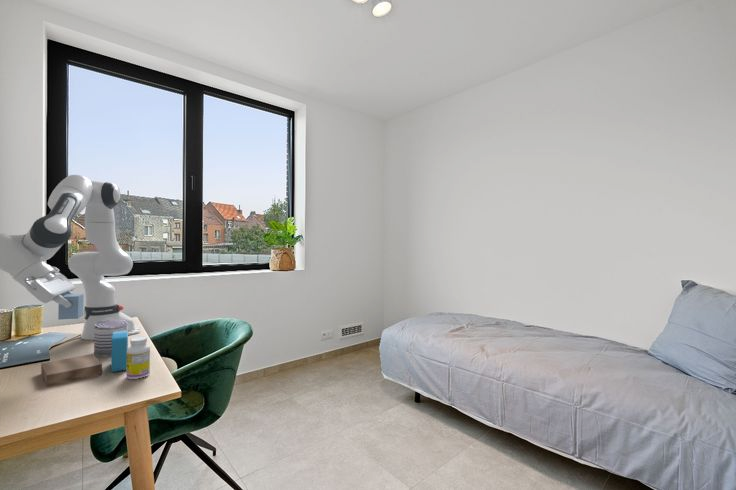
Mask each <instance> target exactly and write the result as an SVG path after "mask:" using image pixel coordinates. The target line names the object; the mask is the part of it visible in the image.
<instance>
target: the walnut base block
mask: <svg viewBox="0 0 736 490" xmlns="http://www.w3.org/2000/svg"><path fill="white" fill-rule="evenodd" d="M40 366H41V367H40V369H41V370H40V371H41V372H40V375H41V377H42V379H43V382H44V384H45V385H46V387H51V386H52V387H53V386H55V385H60V384H64V383H69V382H74V381H78V380H83V379H88V378H91V377H92V378H93V377H97V376H101V375H103V363H102V362H101V361H100V360H99V359H98V358H97V357H96V355H94V353H91V354H86V355H81V356H75V357H69V358H65V359H59V360H53V361H48V362H44V363H41V365H40Z"/></svg>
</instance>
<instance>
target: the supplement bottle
mask: <svg viewBox="0 0 736 490" xmlns="http://www.w3.org/2000/svg"><path fill="white" fill-rule="evenodd" d="M147 341H148V338H147V337H146V336H138V337H132V338H131V339H130V346H128V349H127V370H125V371H126V373H125V374H126V378H127V379H128V380H132V379H135V380H138V379H137V378H141V379H143V378H142V377H144V376H146V375H148V374H149V375H150V373H151V372H150V371H151V366H150V365H151V360H150V359H151V347H150V345H149V344H147ZM149 375H148V376H149ZM146 377H147V376H146ZM144 378H145V377H144Z"/></svg>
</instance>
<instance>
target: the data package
mask: <svg viewBox="0 0 736 490" xmlns="http://www.w3.org/2000/svg"><path fill="white" fill-rule="evenodd" d="M128 348H129V335H128V330H125V331H116V332H113V336H112V356H111V358H110V359H111V360H110V361H111V363H110V364H111V367H110V368H111V369H110V370H111V372H112V373H116V371H117V372H121V371H122V370H123V371H126V370H127V349H128Z"/></svg>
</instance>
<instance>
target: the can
mask: <svg viewBox="0 0 736 490" xmlns="http://www.w3.org/2000/svg"><path fill="white" fill-rule="evenodd" d="M128 324H129V322H127V321H124V320H106V321H99V322H97V323H95V324H93V325H95V327H94V342H93V343H94V345H93V351H94V352H93V354H94V356H95V357H96V356H97V357H112V336H113V332H116V331H125V330H128Z"/></svg>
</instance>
